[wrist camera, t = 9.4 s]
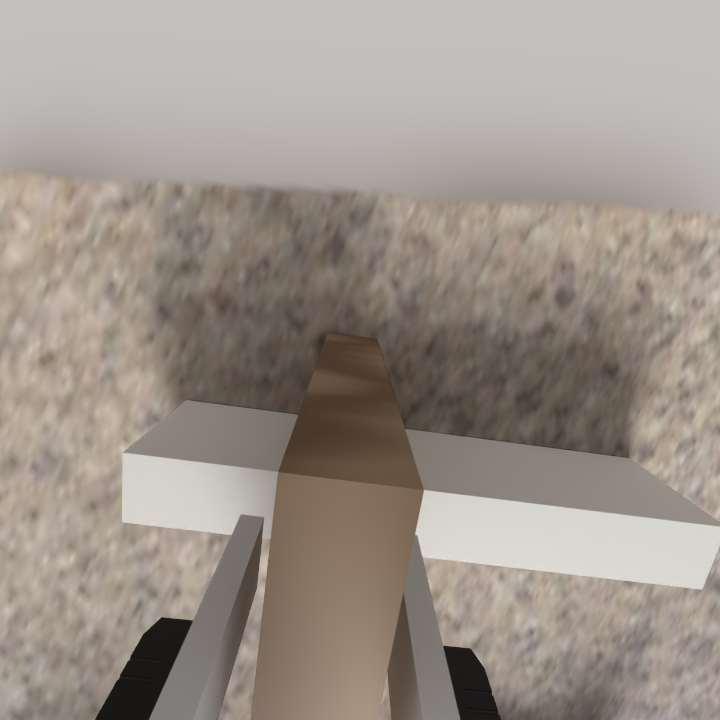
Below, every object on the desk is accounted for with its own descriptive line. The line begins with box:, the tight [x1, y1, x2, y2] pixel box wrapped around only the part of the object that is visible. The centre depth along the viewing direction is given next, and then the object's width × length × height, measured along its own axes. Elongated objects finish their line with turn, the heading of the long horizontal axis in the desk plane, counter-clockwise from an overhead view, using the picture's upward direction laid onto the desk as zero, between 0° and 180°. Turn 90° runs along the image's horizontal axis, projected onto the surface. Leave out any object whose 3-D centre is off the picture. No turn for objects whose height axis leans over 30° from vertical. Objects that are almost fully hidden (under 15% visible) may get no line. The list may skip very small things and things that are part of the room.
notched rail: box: [122, 400, 720, 589], centre depth 19 cm, size 24×3×6 cm, turn 82°
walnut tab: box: [251, 332, 424, 720], centre depth 15 cm, size 2×12×14 cm, turn 172°
